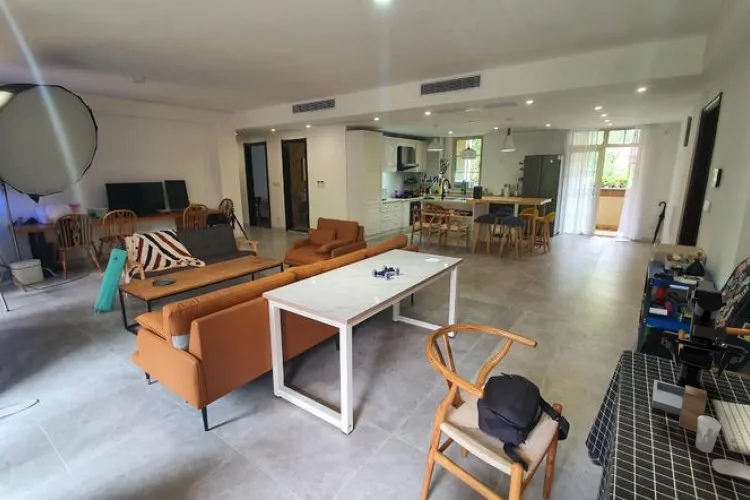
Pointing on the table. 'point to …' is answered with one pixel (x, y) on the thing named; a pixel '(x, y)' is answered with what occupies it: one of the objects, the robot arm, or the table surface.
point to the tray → (667, 397)
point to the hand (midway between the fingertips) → (697, 372)
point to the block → (692, 407)
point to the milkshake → (707, 433)
